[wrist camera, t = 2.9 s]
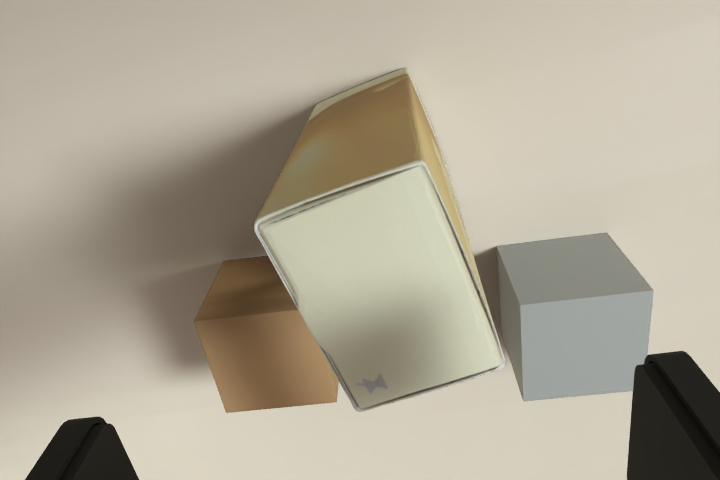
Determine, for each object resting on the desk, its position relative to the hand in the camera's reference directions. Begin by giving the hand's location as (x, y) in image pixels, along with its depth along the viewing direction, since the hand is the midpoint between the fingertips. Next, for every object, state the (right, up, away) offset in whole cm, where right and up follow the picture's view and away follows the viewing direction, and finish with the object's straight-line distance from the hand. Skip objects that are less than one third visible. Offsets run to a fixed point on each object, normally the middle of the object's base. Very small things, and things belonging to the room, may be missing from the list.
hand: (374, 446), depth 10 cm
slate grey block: (+9, +2, +17) cm, 19 cm away
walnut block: (-4, +1, +18) cm, 18 cm away
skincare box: (+1, +8, +14) cm, 16 cm away
